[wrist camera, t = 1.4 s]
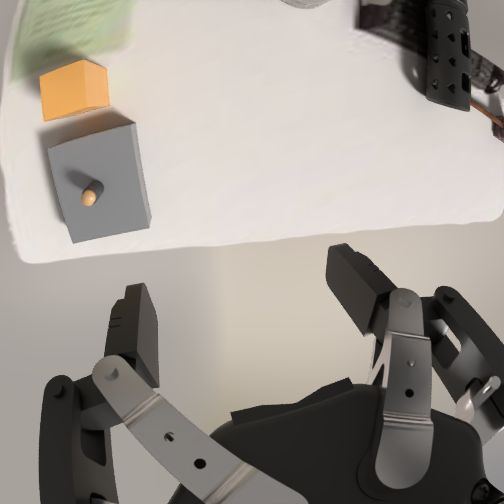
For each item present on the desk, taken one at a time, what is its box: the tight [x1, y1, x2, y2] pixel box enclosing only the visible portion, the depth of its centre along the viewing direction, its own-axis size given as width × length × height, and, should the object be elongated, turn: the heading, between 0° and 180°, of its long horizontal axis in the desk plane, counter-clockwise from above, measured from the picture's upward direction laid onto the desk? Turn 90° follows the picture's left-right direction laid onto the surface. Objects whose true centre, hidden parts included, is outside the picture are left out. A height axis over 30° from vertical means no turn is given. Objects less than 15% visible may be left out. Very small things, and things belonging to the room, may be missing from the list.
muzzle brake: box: [423, 0, 471, 112], centre depth 28 cm, size 10×28×10 cm, turn 179°
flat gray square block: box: [47, 123, 152, 244], centre depth 31 cm, size 14×12×8 cm
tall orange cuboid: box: [40, 59, 110, 122], centre depth 23 cm, size 5×5×10 cm
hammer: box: [470, 99, 504, 142], centre depth 40 cm, size 7×33×10 cm, turn 83°
